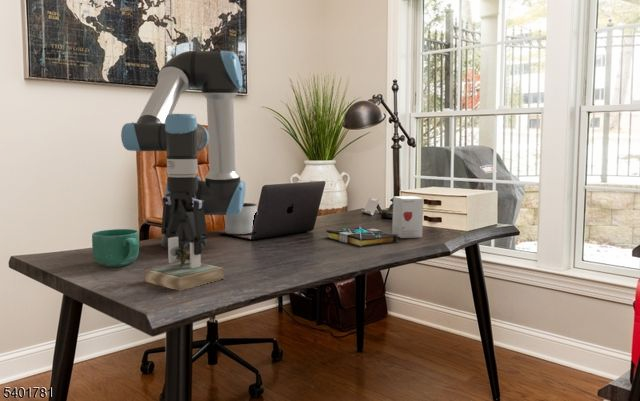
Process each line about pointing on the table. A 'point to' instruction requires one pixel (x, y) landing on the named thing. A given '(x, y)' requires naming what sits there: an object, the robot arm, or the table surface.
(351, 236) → the book
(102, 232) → the mug
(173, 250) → the brown animal figurine
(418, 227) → the supplement box
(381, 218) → the table surface
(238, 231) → the planter
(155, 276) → the pedestal
